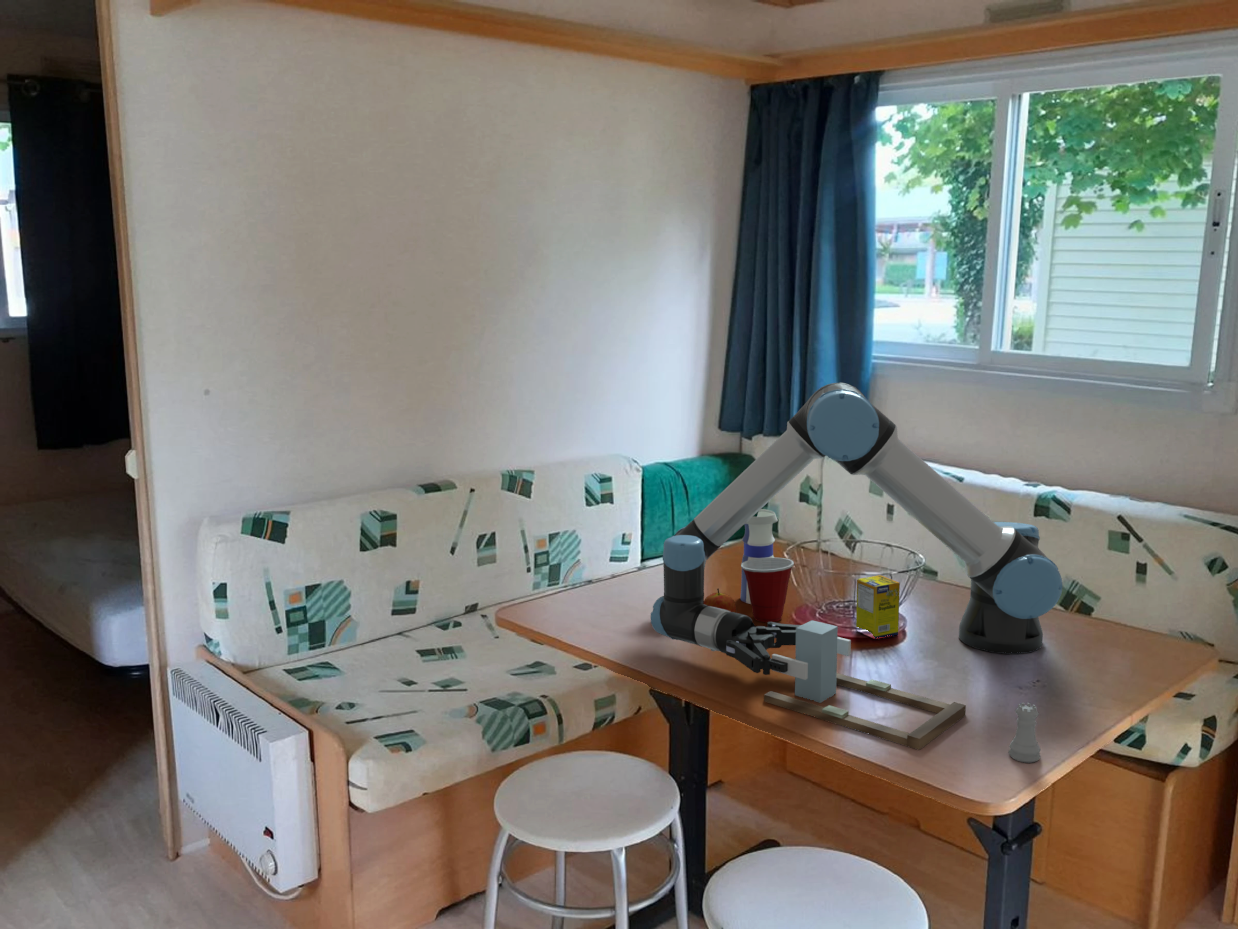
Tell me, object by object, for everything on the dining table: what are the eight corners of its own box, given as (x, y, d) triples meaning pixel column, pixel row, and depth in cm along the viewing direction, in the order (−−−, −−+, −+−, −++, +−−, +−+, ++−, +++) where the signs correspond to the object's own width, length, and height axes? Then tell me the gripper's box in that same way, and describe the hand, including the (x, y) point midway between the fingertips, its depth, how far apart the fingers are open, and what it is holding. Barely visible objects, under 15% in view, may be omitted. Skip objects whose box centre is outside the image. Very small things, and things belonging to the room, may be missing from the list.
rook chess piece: (1033, 749, 160) (1036, 699, 158) (1045, 763, 155) (1049, 712, 154) (1003, 750, 159) (1006, 700, 158) (1015, 764, 155) (1018, 713, 154)
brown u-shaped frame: (764, 701, 178) (764, 691, 178) (815, 673, 190) (815, 663, 190) (919, 750, 160) (919, 739, 160) (965, 715, 172) (965, 705, 171)
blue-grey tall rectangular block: (794, 695, 181) (795, 628, 179) (810, 686, 184) (811, 620, 182) (820, 703, 178) (821, 634, 175) (836, 693, 181) (837, 626, 179)
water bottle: (731, 595, 234) (731, 484, 230) (766, 591, 237) (767, 481, 232) (746, 606, 227) (747, 492, 222) (783, 602, 229) (784, 488, 224)
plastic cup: (758, 606, 227) (758, 551, 225) (802, 615, 220) (803, 560, 218) (730, 619, 219) (730, 563, 217) (775, 630, 212) (776, 572, 210)
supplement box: (899, 636, 208) (900, 582, 206) (874, 641, 206) (876, 586, 203) (879, 626, 213) (880, 574, 211) (855, 631, 211) (856, 578, 209)
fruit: (742, 629, 213) (742, 591, 211) (711, 634, 210) (711, 595, 209) (726, 619, 219) (726, 581, 218) (696, 624, 217) (695, 586, 215)
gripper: (765, 633, 202) (865, 659, 188) (682, 671, 184) (786, 704, 170) (765, 595, 200) (866, 618, 186) (682, 630, 182) (787, 659, 168)
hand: (828, 659), depth 178 cm, fingers open, 13 cm apart
